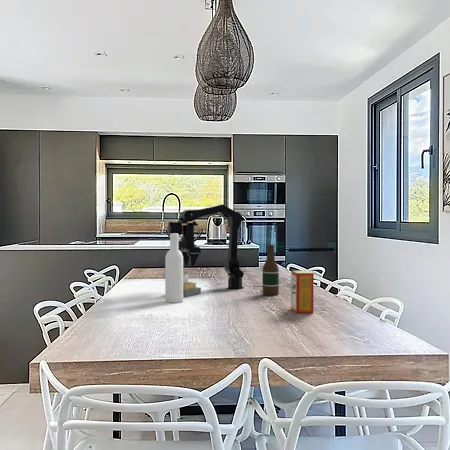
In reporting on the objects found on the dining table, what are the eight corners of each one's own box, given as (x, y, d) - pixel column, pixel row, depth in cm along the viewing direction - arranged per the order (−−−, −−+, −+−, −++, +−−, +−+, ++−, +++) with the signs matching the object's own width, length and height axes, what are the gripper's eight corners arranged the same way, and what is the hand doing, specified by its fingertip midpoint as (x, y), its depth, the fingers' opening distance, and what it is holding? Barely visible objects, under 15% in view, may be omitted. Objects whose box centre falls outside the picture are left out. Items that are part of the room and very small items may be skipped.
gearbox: (200, 293, 235) (200, 282, 235) (185, 297, 225) (185, 285, 224) (177, 291, 242) (177, 280, 242) (161, 294, 232) (161, 283, 232)
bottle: (185, 300, 217) (185, 233, 216) (179, 303, 209) (179, 233, 209) (169, 299, 219) (169, 233, 218) (162, 302, 211) (162, 233, 211)
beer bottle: (277, 296, 229) (278, 245, 228) (261, 295, 230) (261, 245, 230) (279, 293, 236) (279, 244, 236) (263, 292, 238) (263, 244, 237)
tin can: (190, 288, 233) (190, 272, 233) (184, 289, 230) (184, 273, 229) (182, 287, 236) (182, 272, 236) (176, 288, 232) (176, 273, 232)
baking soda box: (291, 308, 198) (291, 269, 197) (307, 308, 198) (307, 269, 198) (296, 313, 188) (297, 272, 188) (313, 313, 189) (313, 272, 189)
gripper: (167, 235, 247) (168, 265, 247) (179, 236, 230) (179, 269, 230) (188, 234, 252) (188, 264, 252) (201, 235, 235) (201, 267, 235)
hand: (189, 266), depth 242 cm, fingers open, 9 cm apart
